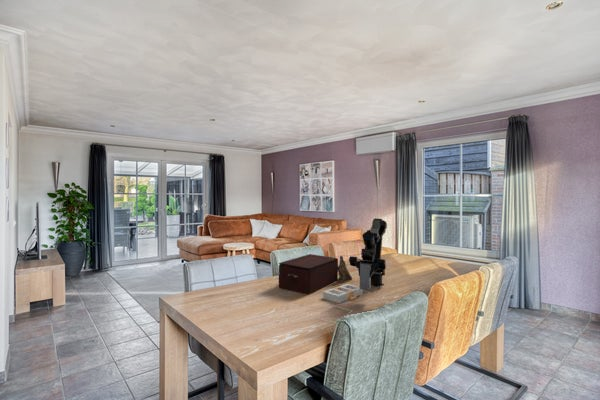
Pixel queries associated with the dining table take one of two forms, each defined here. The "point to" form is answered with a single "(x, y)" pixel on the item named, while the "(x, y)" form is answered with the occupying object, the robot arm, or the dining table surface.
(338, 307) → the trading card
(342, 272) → the brown carved statuette
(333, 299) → the frame
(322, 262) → the storage box
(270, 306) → the dining table surface
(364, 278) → the graphite panel
